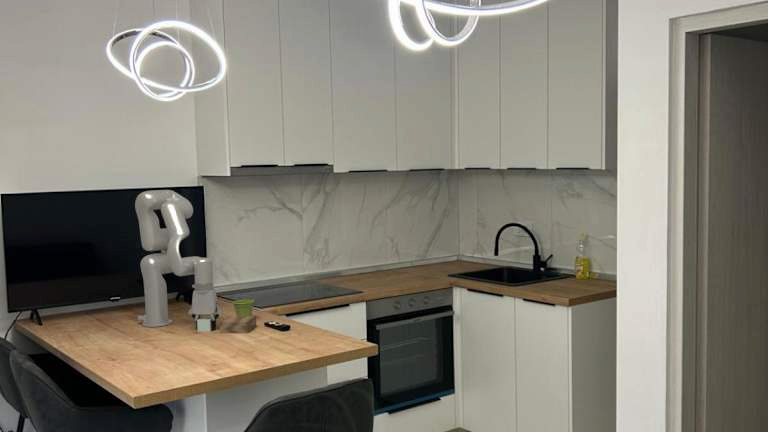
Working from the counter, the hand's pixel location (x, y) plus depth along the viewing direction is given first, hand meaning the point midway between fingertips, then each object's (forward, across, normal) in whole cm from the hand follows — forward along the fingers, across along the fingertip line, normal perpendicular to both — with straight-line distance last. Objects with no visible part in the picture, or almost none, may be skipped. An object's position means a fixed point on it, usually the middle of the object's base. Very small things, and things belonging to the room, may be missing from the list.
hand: (206, 328), depth 311 cm
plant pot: (+1, +10, +20) cm, 22 cm away
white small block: (+1, 0, 0) cm, 1 cm away
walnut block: (+1, +14, 0) cm, 14 cm away
